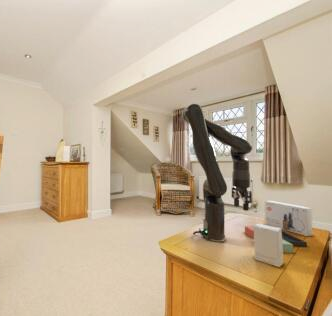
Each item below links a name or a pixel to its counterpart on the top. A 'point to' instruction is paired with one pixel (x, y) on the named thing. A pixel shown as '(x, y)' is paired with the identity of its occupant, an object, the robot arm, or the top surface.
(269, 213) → the skincare box
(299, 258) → the top surface
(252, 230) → the terracotta pad
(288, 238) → the frame
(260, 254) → the cosmetic box
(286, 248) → the sage pad
